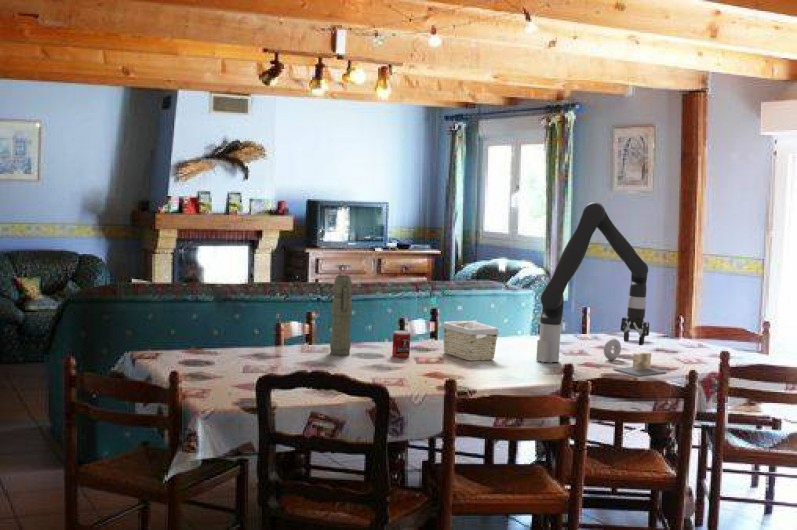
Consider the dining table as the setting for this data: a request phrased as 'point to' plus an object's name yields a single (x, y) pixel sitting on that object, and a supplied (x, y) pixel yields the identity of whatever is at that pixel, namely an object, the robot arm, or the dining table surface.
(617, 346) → the donut
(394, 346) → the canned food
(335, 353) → the grey-green tall rounded block
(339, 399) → the dining table surface
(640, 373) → the mat
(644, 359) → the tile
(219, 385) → the dining table surface
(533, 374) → the dining table surface
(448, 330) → the storage basket
